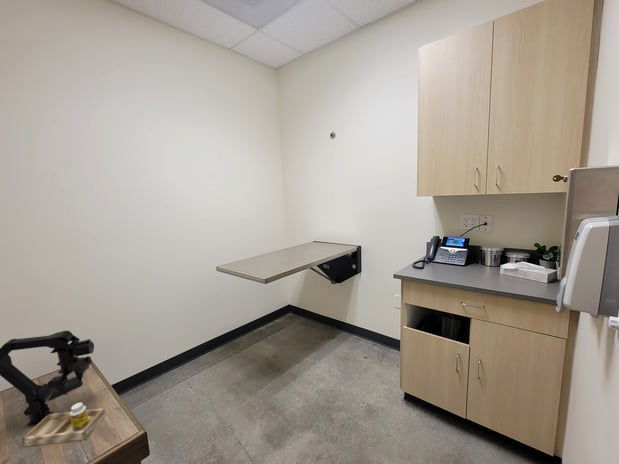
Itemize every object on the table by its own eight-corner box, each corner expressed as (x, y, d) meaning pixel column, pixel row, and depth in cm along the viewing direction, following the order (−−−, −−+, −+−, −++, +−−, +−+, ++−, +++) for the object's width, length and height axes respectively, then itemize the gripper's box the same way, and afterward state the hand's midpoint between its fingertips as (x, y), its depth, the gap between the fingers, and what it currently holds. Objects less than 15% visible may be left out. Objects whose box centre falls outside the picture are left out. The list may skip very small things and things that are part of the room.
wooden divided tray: (23, 446, 115) (21, 439, 114) (50, 420, 128) (48, 414, 127) (85, 439, 116) (84, 432, 116) (105, 414, 129) (104, 408, 129)
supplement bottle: (71, 433, 118) (67, 412, 117) (74, 424, 123) (69, 404, 122) (88, 426, 122) (84, 406, 120) (89, 418, 126) (85, 399, 125)
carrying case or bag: (79, 378, 158) (44, 393, 147) (78, 373, 157) (43, 388, 146) (83, 385, 151) (47, 402, 140) (82, 380, 151) (46, 397, 139)
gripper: (69, 369, 121) (76, 400, 123) (98, 345, 139) (103, 372, 141) (42, 371, 120) (50, 403, 122) (75, 347, 138) (81, 375, 141)
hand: (73, 387), depth 132 cm, fingers open, 9 cm apart
